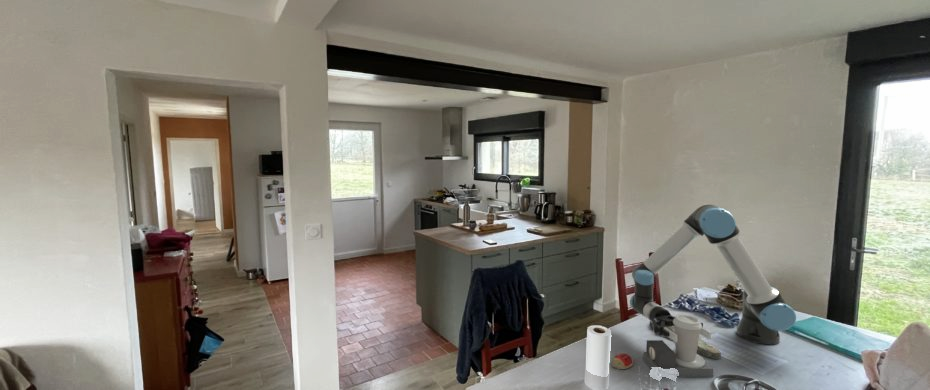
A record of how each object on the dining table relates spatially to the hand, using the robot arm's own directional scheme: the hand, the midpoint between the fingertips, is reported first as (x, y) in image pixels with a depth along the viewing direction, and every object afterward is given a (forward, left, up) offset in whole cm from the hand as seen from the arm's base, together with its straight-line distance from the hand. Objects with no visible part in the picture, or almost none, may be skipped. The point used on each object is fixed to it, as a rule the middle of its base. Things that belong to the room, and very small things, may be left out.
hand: (693, 337), depth 140 cm
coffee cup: (+1, -3, -10) cm, 10 cm away
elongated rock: (-10, -26, -14) cm, 31 cm away
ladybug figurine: (+24, -5, -14) cm, 28 cm away
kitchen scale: (+4, -3, -13) cm, 14 cm away
